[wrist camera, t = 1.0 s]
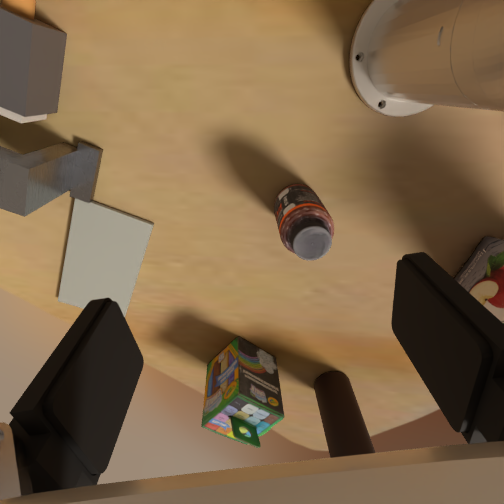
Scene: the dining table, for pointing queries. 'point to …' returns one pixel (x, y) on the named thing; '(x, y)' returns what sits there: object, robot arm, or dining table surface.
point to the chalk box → (242, 393)
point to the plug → (28, 63)
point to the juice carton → (486, 275)
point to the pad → (102, 255)
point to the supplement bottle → (303, 222)
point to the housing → (47, 175)
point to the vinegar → (341, 416)
